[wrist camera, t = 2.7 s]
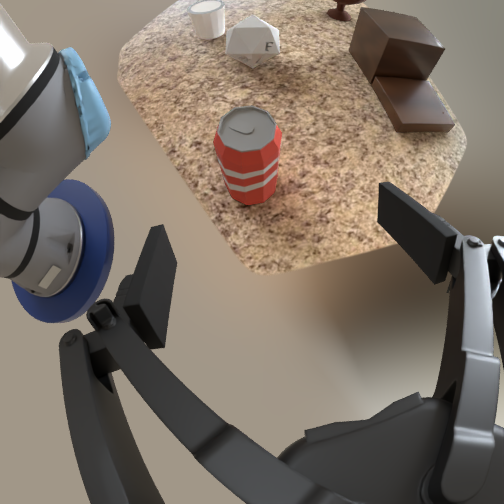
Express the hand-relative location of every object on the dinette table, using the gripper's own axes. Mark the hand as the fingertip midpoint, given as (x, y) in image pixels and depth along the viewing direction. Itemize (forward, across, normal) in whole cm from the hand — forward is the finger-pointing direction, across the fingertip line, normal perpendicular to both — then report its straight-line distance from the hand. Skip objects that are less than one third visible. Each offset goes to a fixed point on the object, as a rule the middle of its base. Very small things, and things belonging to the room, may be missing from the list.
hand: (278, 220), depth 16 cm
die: (+36, +5, +13) cm, 39 cm away
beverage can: (+19, 0, -5) cm, 20 cm away
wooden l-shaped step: (+30, +29, +6) cm, 42 cm away
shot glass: (+45, -1, +21) cm, 49 cm away
